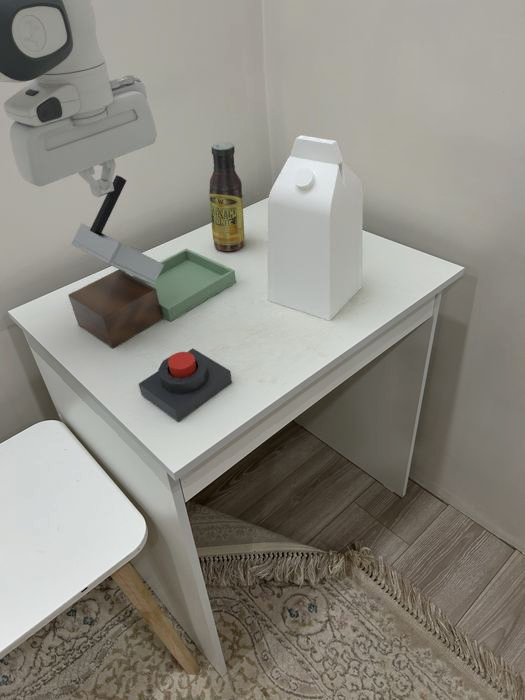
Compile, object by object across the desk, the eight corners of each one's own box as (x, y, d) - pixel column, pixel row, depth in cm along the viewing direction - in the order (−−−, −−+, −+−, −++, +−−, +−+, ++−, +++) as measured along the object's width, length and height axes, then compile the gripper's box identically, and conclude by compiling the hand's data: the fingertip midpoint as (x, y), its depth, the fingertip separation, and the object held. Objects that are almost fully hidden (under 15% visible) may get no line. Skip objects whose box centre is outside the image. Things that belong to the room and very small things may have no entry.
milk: (362, 286, 94) (372, 132, 78) (329, 320, 87) (334, 159, 71) (302, 269, 100) (300, 122, 83) (267, 300, 93) (258, 146, 76)
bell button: (181, 382, 73) (179, 372, 71) (164, 370, 75) (162, 361, 73) (201, 368, 74) (200, 358, 73) (184, 357, 76) (182, 348, 75)
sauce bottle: (209, 251, 107) (195, 150, 94) (220, 236, 112) (209, 138, 99) (240, 255, 105) (231, 152, 93) (250, 239, 110) (243, 139, 97)
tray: (170, 321, 90) (168, 309, 88) (123, 294, 97) (120, 282, 95) (236, 282, 98) (234, 270, 96) (188, 259, 105) (186, 248, 104)
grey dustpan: (101, 261, 77) (139, 183, 76) (64, 241, 82) (99, 168, 82) (155, 285, 86) (189, 216, 86) (119, 266, 92) (150, 201, 91)
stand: (112, 348, 85) (103, 317, 81) (78, 324, 90) (67, 294, 87) (162, 319, 90) (156, 288, 86) (127, 298, 96) (119, 268, 92)
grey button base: (178, 422, 72) (173, 400, 69) (141, 395, 76) (135, 373, 74) (232, 382, 77) (229, 360, 75) (194, 359, 82) (191, 338, 79)
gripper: (127, 69, 77) (147, 165, 86) (-10, 108, 66) (29, 213, 75) (155, 74, 73) (173, 174, 82) (15, 116, 62) (53, 226, 71)
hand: (103, 193), depth 78 cm, fingers closed
